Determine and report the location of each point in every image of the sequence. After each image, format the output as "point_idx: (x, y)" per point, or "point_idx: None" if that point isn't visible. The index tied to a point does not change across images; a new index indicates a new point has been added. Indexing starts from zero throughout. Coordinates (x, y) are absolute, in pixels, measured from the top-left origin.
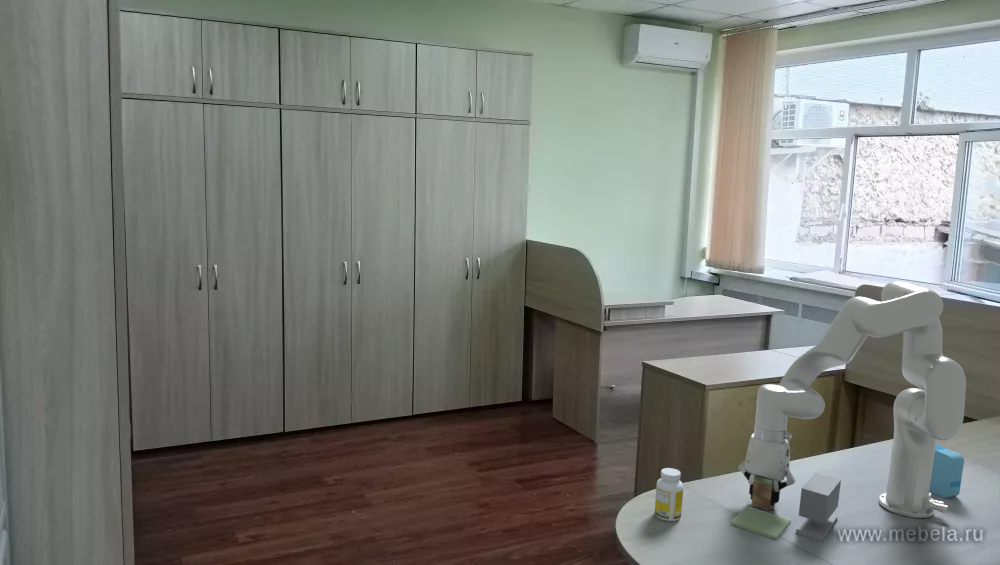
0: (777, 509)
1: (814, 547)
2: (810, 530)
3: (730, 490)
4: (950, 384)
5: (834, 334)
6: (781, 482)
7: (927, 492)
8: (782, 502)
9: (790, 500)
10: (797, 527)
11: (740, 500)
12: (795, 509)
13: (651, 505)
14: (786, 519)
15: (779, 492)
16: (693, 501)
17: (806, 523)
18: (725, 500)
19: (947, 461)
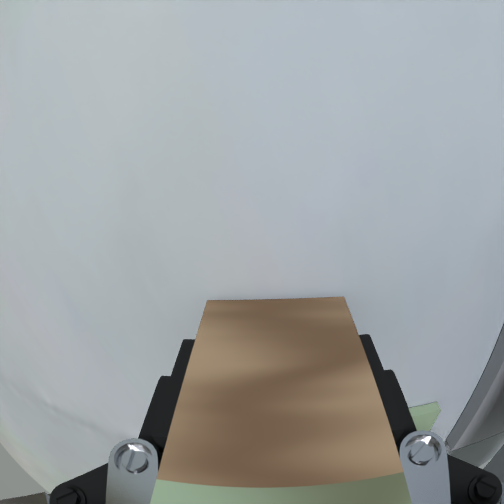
0: (369, 333)
1: (481, 450)
2: (495, 425)
3: (31, 275)
4: None
5: None
6: (447, 485)
7: None
8: (377, 200)
9: (415, 117)
10: (457, 442)
11: (140, 364)
12: (465, 250)
13: (48, 479)
14: (423, 417)
15: (409, 427)
16: (60, 443)
17: (496, 398)
18: (101, 398)
19: None
